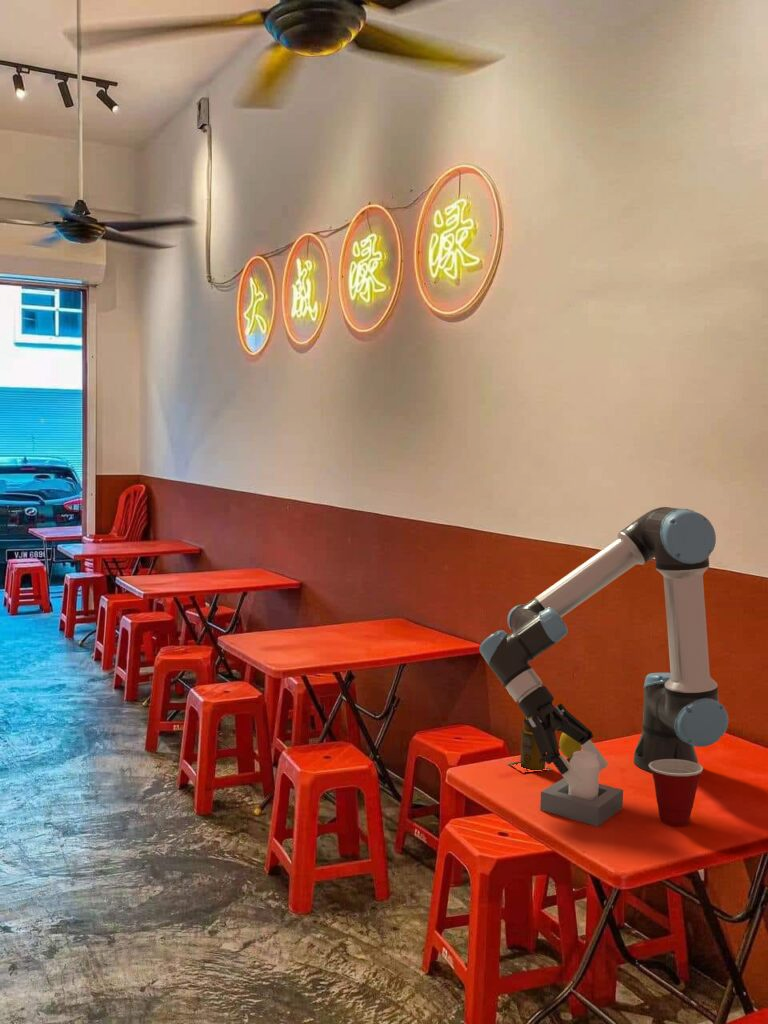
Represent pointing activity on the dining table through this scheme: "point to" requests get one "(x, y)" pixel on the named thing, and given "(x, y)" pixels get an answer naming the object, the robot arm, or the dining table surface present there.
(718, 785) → the dining table surface
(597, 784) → the beverage can
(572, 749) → the lemon
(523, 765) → the condiment
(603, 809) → the square frame
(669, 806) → the plastic cup
